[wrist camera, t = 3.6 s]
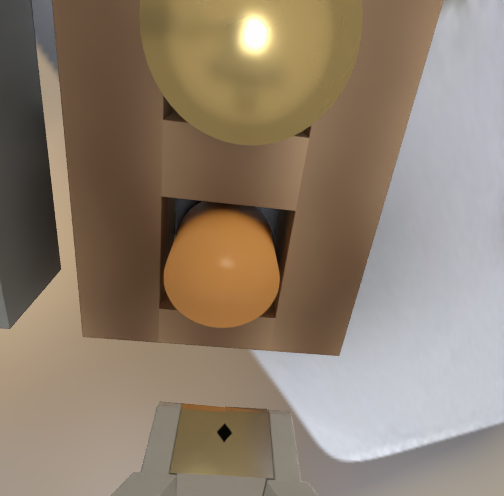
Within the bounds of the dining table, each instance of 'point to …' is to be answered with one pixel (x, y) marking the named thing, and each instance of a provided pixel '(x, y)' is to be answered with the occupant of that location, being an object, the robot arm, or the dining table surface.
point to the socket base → (227, 179)
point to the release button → (222, 265)
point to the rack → (23, 170)
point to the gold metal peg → (251, 62)
